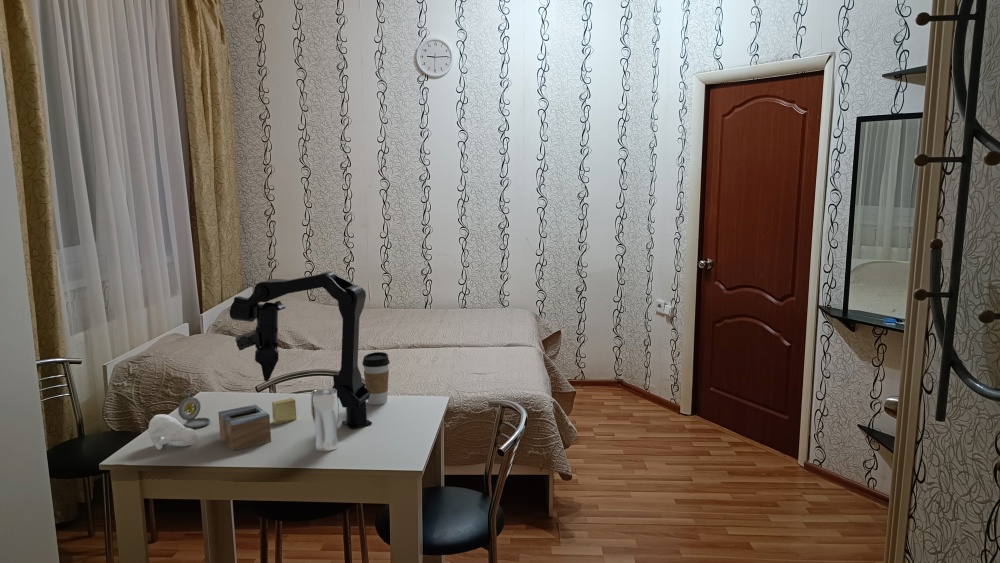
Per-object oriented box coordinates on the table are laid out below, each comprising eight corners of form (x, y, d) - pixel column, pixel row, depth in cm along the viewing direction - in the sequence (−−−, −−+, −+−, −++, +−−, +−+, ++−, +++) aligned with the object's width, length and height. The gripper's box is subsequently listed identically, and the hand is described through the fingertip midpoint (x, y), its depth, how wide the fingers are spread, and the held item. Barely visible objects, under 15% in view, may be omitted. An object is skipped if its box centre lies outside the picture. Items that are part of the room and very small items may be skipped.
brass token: (296, 419, 212) (295, 399, 211) (276, 424, 208) (274, 404, 207) (293, 417, 214) (292, 397, 213) (273, 422, 210) (271, 402, 209)
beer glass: (327, 454, 186) (324, 397, 183) (307, 449, 189) (304, 393, 187) (346, 445, 192) (343, 390, 189) (327, 440, 195) (324, 386, 193)
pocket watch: (204, 428, 205) (201, 394, 204) (174, 429, 206) (171, 395, 204) (216, 419, 214) (213, 386, 212) (187, 419, 214) (185, 386, 212)
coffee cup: (396, 399, 229) (394, 352, 227) (383, 407, 222) (381, 359, 219) (372, 396, 232) (370, 351, 230) (358, 404, 224) (356, 357, 222)
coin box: (271, 441, 195) (269, 414, 194) (233, 450, 189) (231, 422, 188) (257, 430, 204) (255, 404, 203) (220, 438, 198) (218, 411, 197)
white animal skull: (156, 410, 195) (201, 413, 195) (155, 440, 196) (200, 443, 197) (145, 418, 189) (192, 421, 189) (145, 449, 190) (191, 452, 190)
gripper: (238, 316, 214) (238, 367, 217) (235, 331, 197) (235, 387, 199) (278, 316, 218) (277, 366, 220) (279, 331, 200) (277, 386, 203)
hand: (266, 376), depth 211 cm, fingers open, 9 cm apart
